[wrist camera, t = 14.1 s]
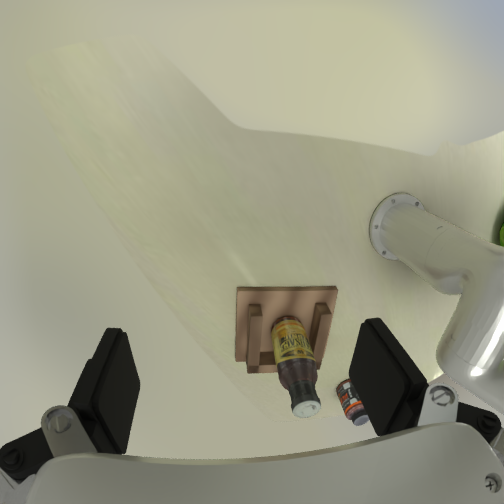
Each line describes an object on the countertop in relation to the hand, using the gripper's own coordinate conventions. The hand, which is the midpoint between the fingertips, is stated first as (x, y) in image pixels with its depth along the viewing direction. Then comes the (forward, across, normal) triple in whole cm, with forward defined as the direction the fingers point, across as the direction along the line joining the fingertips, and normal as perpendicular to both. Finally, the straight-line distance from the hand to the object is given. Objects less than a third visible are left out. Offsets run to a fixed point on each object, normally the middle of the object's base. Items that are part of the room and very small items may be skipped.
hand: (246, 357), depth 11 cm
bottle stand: (+38, -10, +25) cm, 47 cm away
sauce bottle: (+36, -10, +25) cm, 46 cm away
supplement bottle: (+38, -28, +46) cm, 66 cm away
